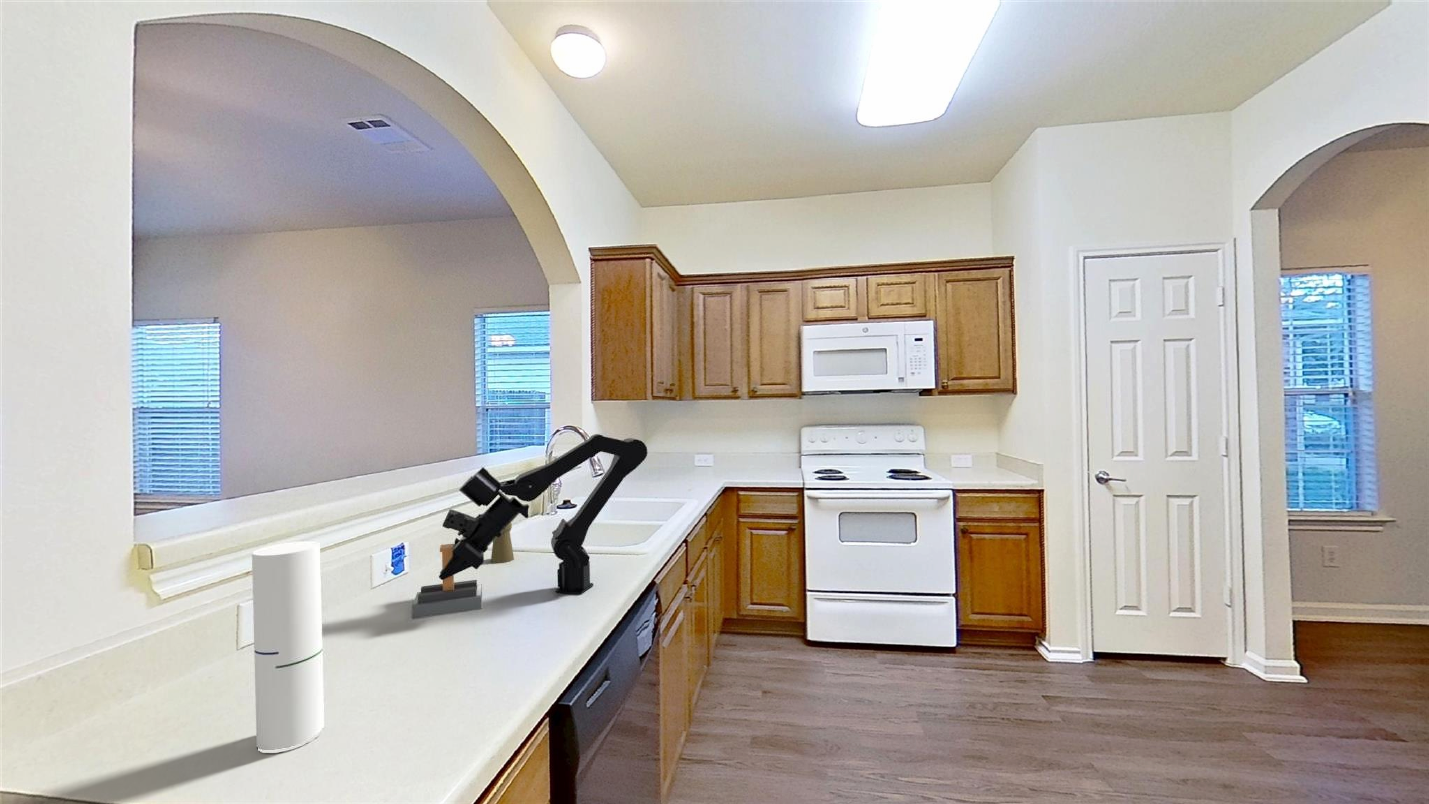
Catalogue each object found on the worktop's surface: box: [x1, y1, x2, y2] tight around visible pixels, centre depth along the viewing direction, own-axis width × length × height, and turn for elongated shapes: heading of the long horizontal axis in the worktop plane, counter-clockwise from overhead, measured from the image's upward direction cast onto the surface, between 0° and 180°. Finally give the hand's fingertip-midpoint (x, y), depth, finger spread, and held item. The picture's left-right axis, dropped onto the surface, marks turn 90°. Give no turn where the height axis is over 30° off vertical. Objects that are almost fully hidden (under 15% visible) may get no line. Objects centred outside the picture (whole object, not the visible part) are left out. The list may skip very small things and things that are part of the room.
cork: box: [490, 522, 515, 564], centre depth 158 cm, size 6×6×11 cm
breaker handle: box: [439, 543, 455, 591], centre depth 123 cm, size 3×3×10 cm
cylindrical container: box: [251, 540, 325, 750], centre depth 75 cm, size 7×7×25 cm
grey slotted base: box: [411, 579, 483, 619], centre depth 123 cm, size 13×9×4 cm
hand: (441, 576), depth 122 cm, fingers closed on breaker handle, 2 cm apart
